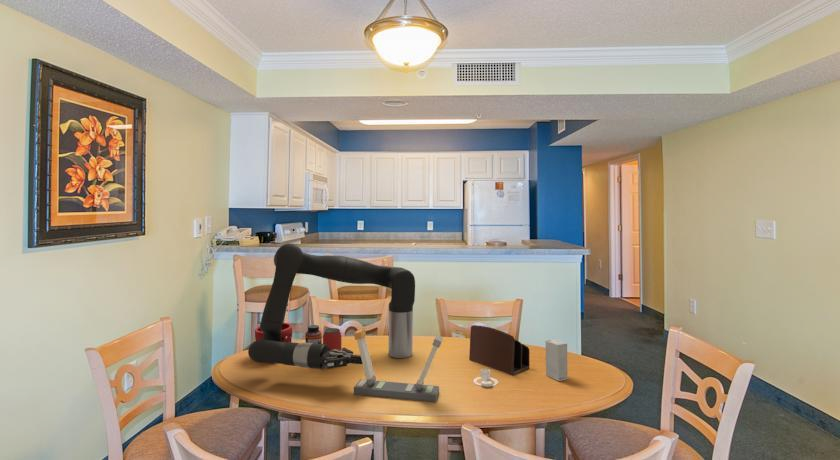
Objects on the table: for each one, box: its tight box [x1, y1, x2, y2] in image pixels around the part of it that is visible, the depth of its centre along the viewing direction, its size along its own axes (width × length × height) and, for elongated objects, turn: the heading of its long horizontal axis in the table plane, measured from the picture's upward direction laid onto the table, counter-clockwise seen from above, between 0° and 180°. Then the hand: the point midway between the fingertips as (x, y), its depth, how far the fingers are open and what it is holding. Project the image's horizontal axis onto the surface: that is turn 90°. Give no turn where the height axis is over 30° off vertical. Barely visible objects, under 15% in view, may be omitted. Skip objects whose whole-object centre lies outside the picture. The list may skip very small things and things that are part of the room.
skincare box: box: [545, 338, 568, 382], centre depth 140 cm, size 6×4×12 cm
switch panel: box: [353, 379, 440, 403], centre depth 127 cm, size 6×25×2 cm, turn 79°
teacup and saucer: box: [473, 368, 499, 388], centre depth 136 cm, size 9×8×4 cm
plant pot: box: [254, 322, 293, 342], centre depth 156 cm, size 13×13×12 cm
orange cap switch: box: [353, 328, 377, 386], centre depth 129 cm, size 4×2×16 cm, turn 169°
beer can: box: [322, 327, 342, 351], centre depth 152 cm, size 7×7×12 cm
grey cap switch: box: [415, 334, 444, 390], centre depth 125 cm, size 4×2×16 cm, turn 169°
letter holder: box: [468, 324, 531, 376], centre depth 152 cm, size 10×20×14 cm, turn 41°
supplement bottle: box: [305, 324, 323, 344], centre depth 160 cm, size 6×6×11 cm
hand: (363, 360), depth 129 cm, fingers closed
